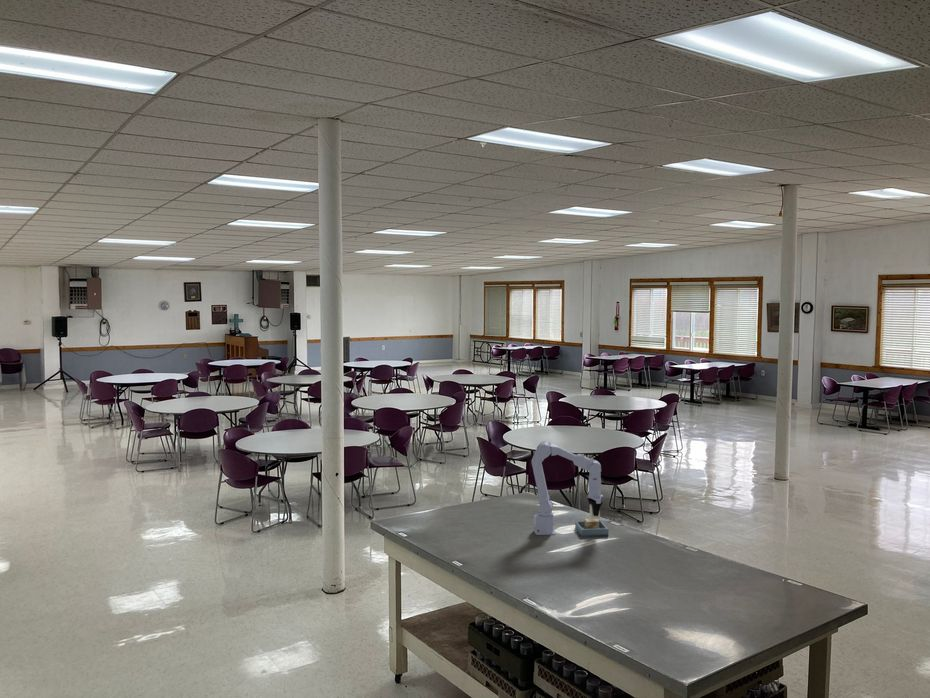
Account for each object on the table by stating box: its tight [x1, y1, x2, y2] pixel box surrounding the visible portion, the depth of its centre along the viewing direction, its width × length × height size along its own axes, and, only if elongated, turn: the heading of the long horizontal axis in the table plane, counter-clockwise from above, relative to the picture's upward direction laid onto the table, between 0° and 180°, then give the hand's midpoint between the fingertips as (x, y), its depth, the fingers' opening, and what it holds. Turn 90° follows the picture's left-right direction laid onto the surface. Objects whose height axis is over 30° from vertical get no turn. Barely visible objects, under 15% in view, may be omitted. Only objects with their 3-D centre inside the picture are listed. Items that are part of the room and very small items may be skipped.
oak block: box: [583, 517, 600, 529], centre depth 329 cm, size 6×5×5 cm
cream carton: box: [589, 504, 601, 520], centre depth 325 cm, size 4×4×6 cm
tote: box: [574, 520, 609, 538], centre depth 329 cm, size 13×13×4 cm
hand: (594, 514), depth 325 cm, fingers closed on cream carton, 4 cm apart
